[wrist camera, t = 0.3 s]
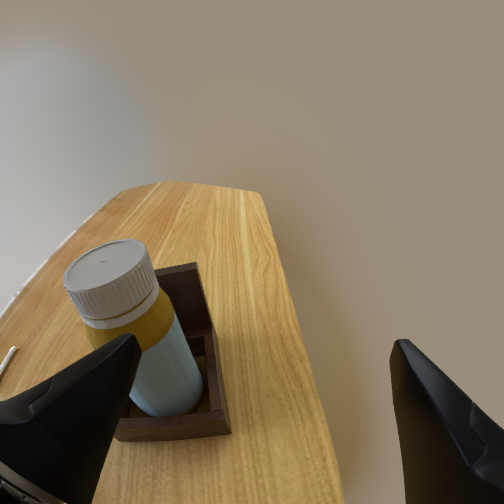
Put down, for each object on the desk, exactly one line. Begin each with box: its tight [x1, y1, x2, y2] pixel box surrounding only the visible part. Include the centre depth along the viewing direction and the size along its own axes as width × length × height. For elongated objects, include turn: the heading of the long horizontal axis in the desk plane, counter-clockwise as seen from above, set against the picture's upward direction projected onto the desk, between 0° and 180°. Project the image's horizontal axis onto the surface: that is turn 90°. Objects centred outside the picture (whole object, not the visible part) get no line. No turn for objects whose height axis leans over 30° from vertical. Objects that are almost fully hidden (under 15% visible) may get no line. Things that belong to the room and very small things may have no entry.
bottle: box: [63, 239, 204, 417], centre depth 19 cm, size 7×7×15 cm
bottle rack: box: [114, 262, 232, 441], centre depth 21 cm, size 12×11×10 cm
